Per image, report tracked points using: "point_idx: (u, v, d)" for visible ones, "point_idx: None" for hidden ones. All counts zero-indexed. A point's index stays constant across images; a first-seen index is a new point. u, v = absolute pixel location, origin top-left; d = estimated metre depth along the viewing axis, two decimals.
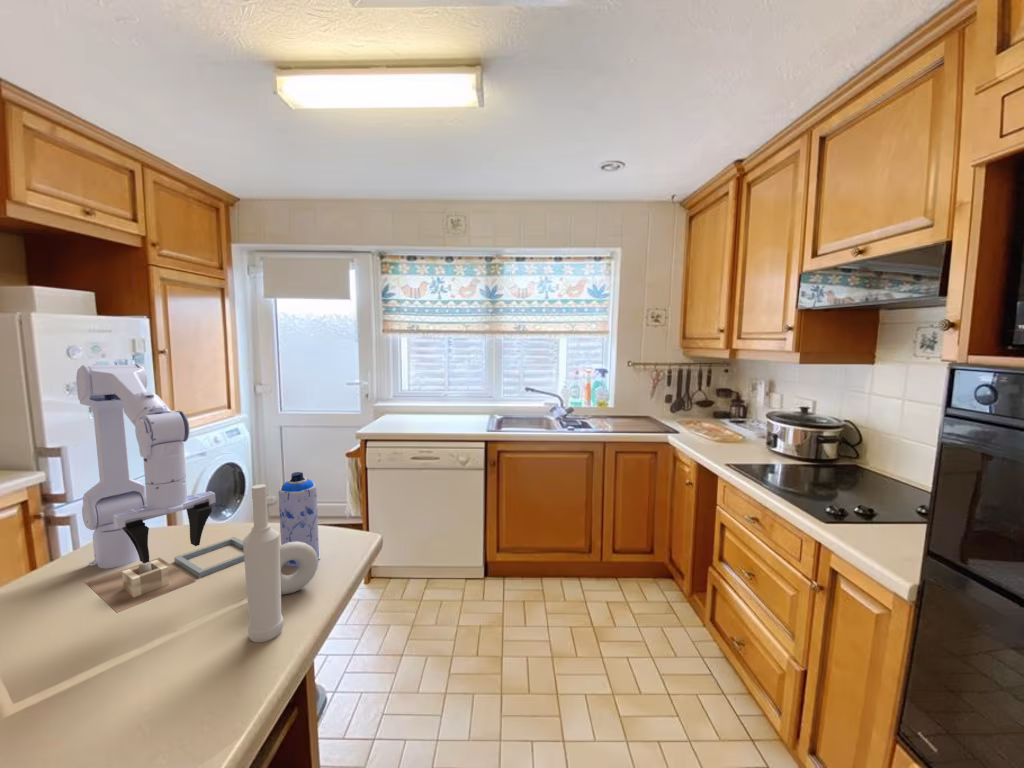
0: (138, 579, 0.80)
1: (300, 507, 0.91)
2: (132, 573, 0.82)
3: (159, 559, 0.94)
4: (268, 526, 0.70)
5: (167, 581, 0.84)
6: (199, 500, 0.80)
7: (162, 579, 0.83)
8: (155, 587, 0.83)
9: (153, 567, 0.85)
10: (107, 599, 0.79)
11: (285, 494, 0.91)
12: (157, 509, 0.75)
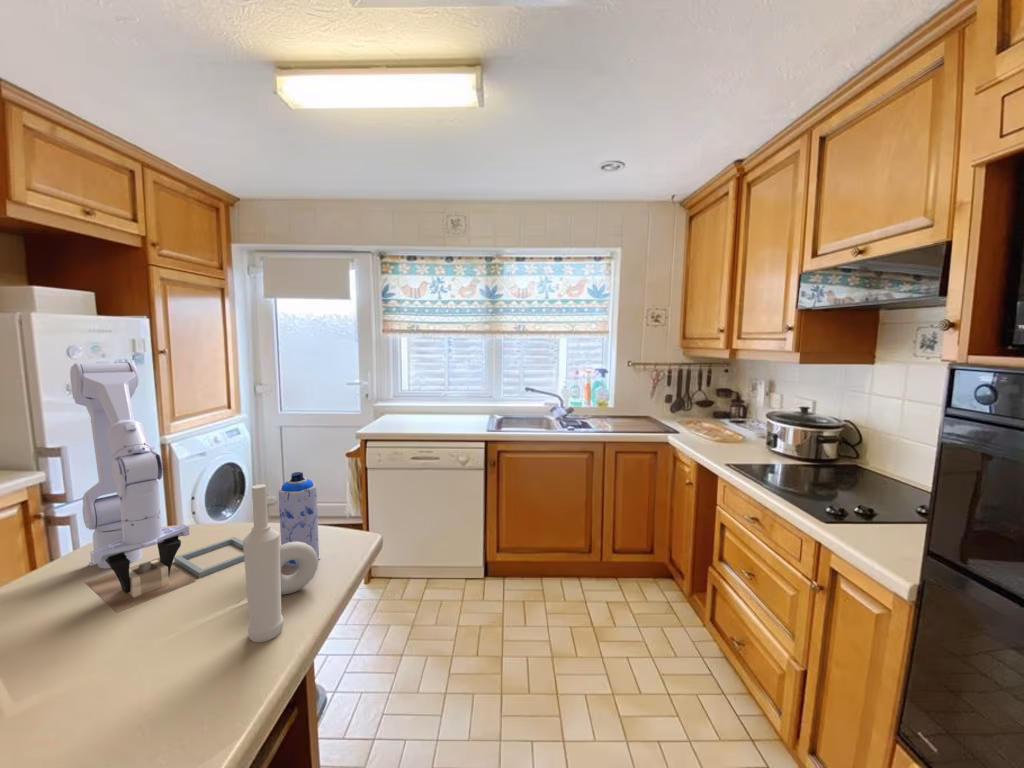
0: (138, 579, 0.80)
1: (300, 507, 0.91)
2: (132, 573, 0.82)
3: (159, 559, 0.94)
4: (268, 526, 0.70)
5: (167, 581, 0.84)
6: (173, 533, 0.86)
7: (162, 579, 0.83)
8: (155, 587, 0.83)
9: (153, 567, 0.85)
10: (107, 599, 0.79)
11: (285, 494, 0.91)
12: (132, 544, 0.80)
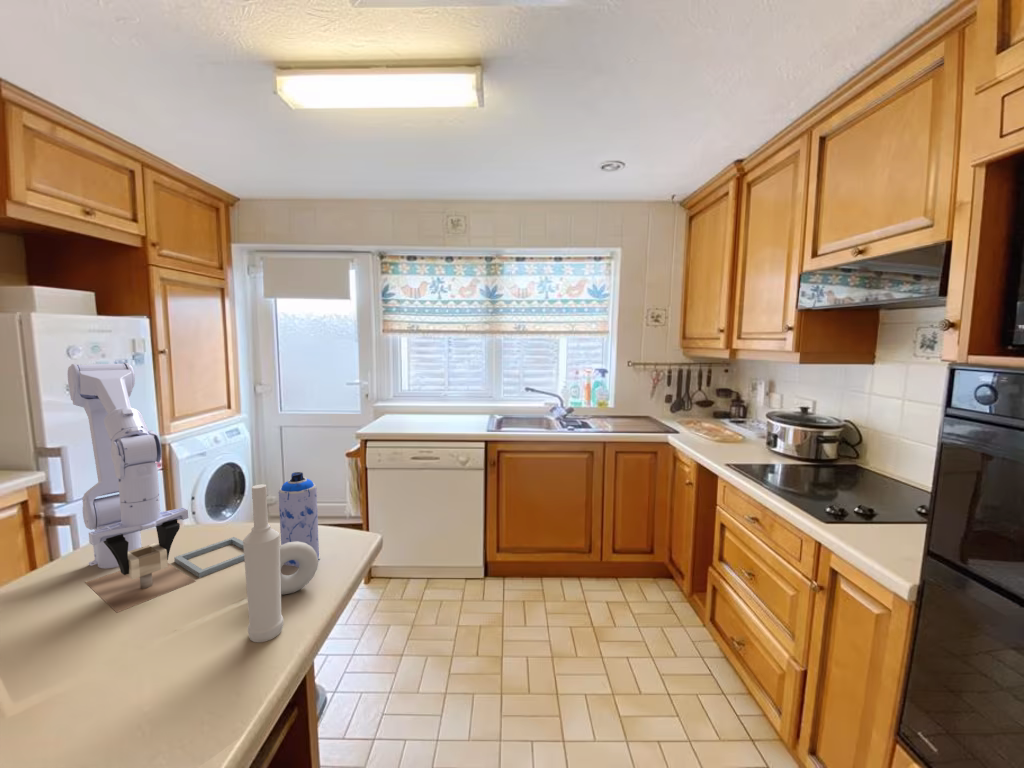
0: (137, 561, 0.80)
1: (300, 507, 0.91)
2: (131, 555, 0.81)
3: None
4: (268, 526, 0.70)
5: (166, 564, 0.84)
6: (172, 516, 0.85)
7: (160, 562, 0.83)
8: (154, 570, 0.82)
9: (152, 550, 0.85)
10: (107, 599, 0.79)
11: (285, 494, 0.91)
12: (131, 526, 0.79)
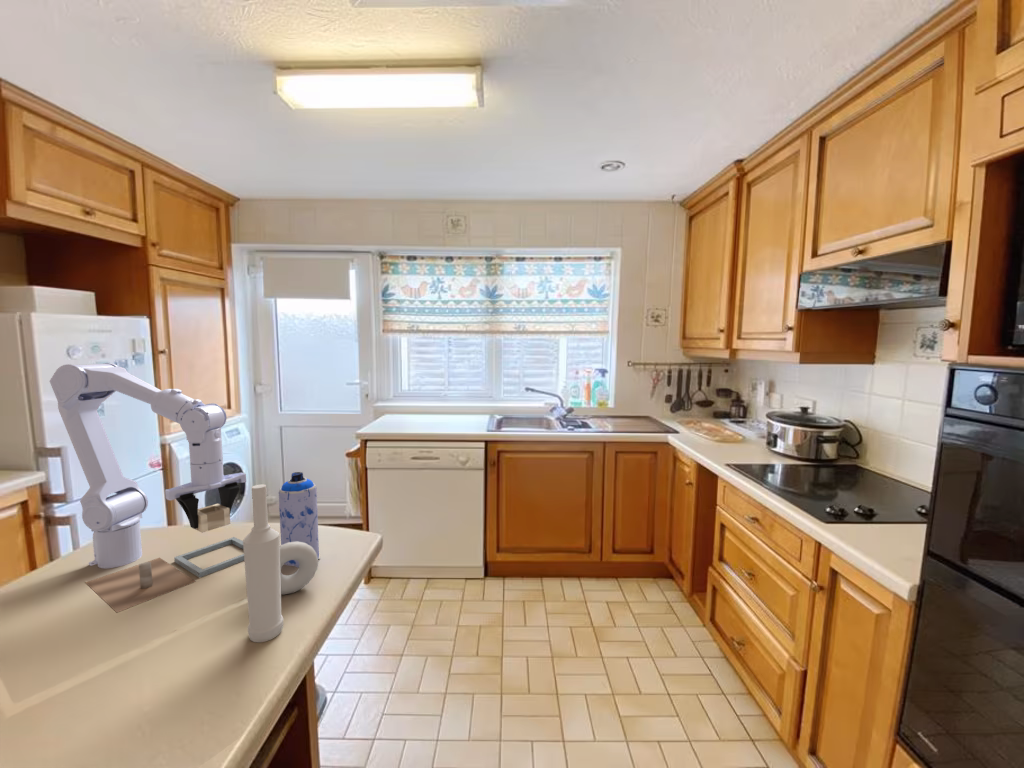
0: (205, 517, 0.90)
1: (300, 507, 0.91)
2: (199, 512, 0.91)
3: (159, 559, 0.94)
4: (268, 526, 0.70)
5: (229, 521, 0.94)
6: (233, 479, 0.95)
7: (224, 519, 0.93)
8: (219, 525, 0.92)
9: (215, 509, 0.95)
10: (107, 599, 0.79)
11: (285, 494, 0.91)
12: (200, 485, 0.89)
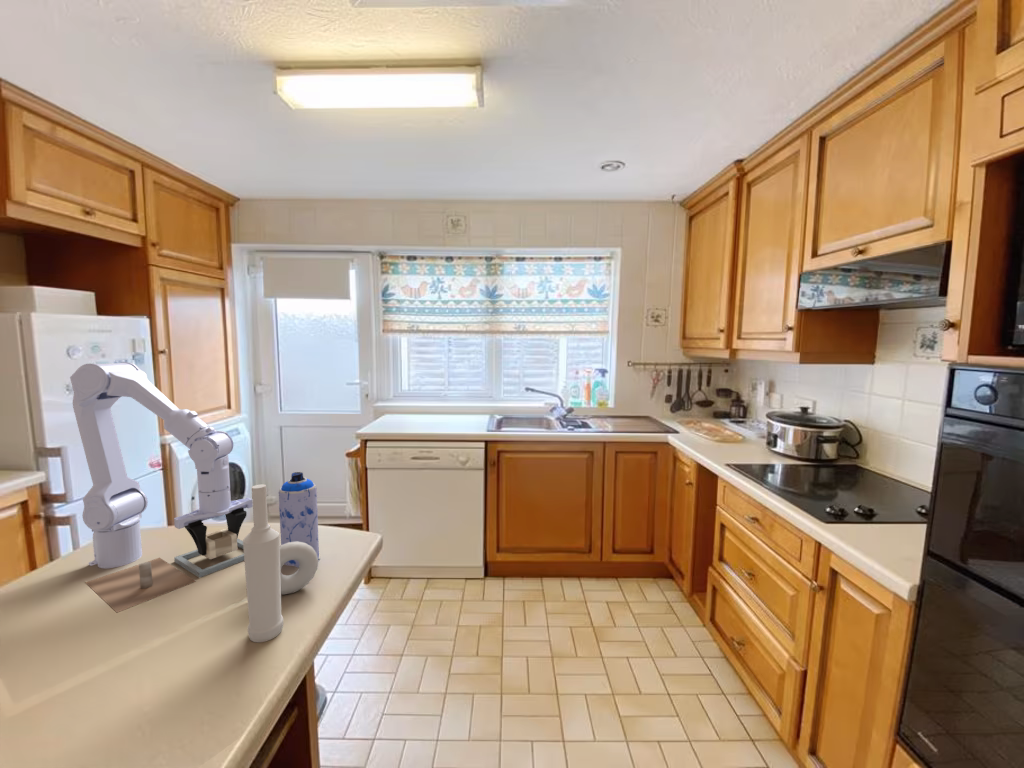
0: (213, 543, 0.92)
1: (300, 507, 0.91)
2: (207, 539, 0.93)
3: (159, 559, 0.94)
4: (268, 526, 0.70)
5: (236, 547, 0.95)
6: (240, 505, 0.97)
7: (232, 544, 0.95)
8: (226, 551, 0.94)
9: (223, 535, 0.97)
10: (107, 599, 0.79)
11: (285, 494, 0.91)
12: (208, 513, 0.91)
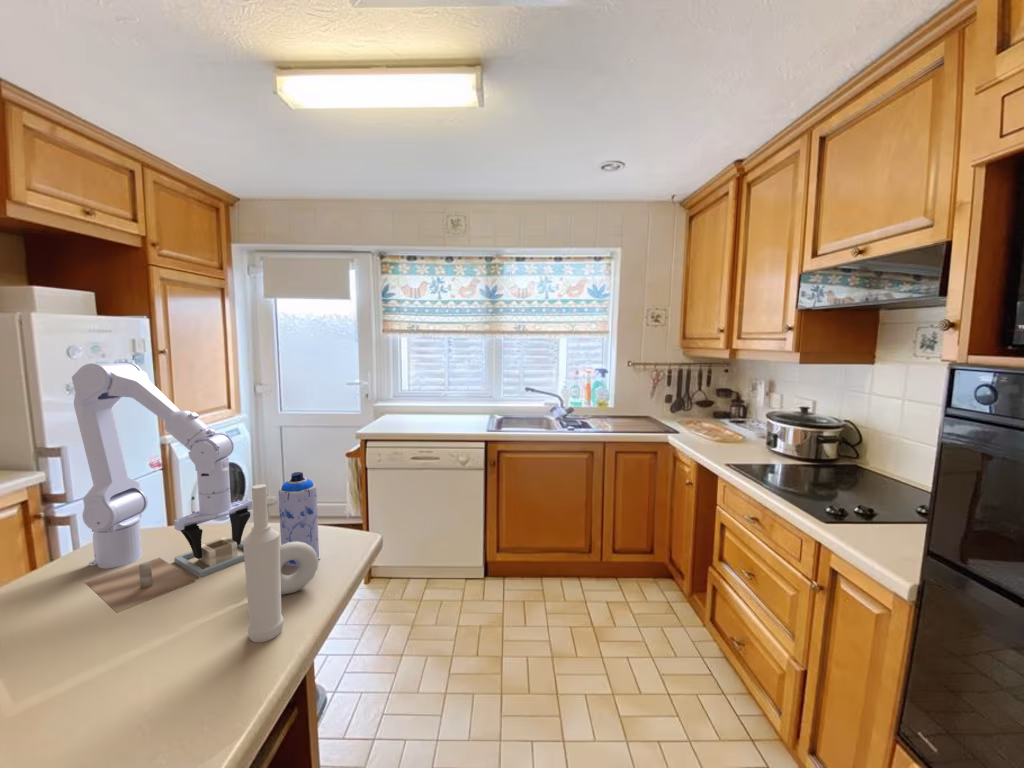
0: (214, 552, 0.92)
1: (300, 507, 0.91)
2: (207, 547, 0.93)
3: (159, 559, 0.94)
4: (268, 526, 0.70)
5: (236, 555, 0.96)
6: (240, 507, 0.97)
7: (232, 553, 0.95)
8: None
9: (223, 543, 0.97)
10: (107, 599, 0.79)
11: (285, 494, 0.91)
12: (208, 515, 0.91)
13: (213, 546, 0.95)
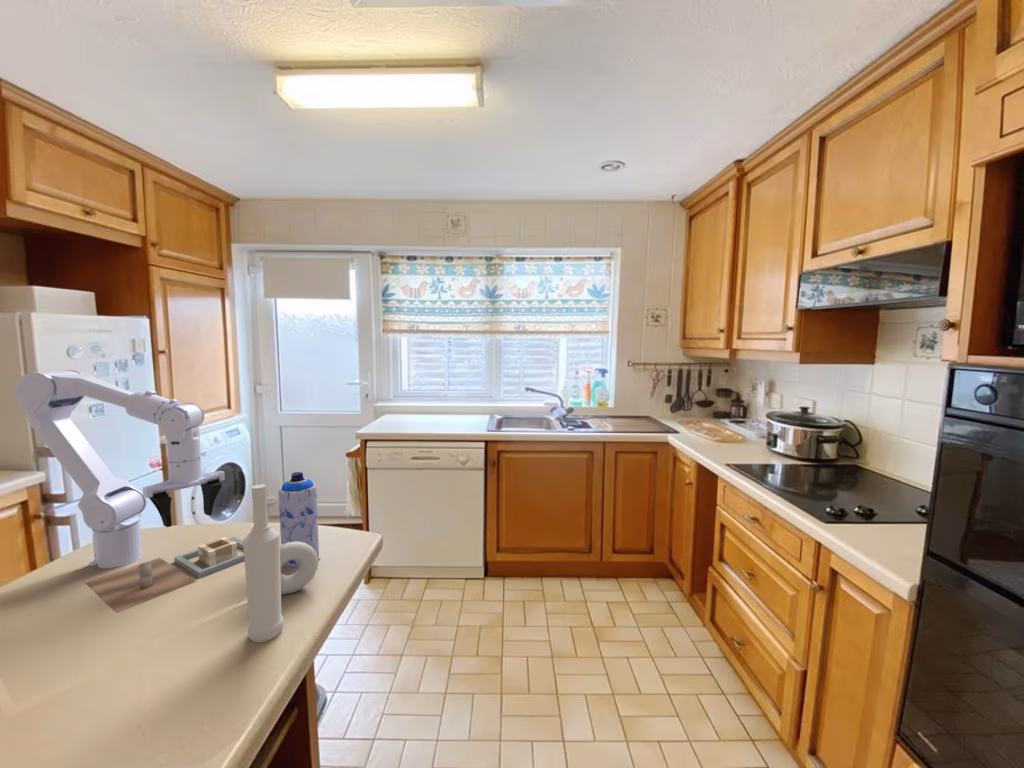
0: (214, 552, 0.92)
1: (300, 507, 0.91)
2: (207, 547, 0.93)
3: (159, 559, 0.94)
4: (268, 526, 0.70)
5: (236, 555, 0.96)
6: (211, 477, 0.97)
7: (232, 553, 0.95)
8: None
9: (223, 543, 0.97)
10: (107, 599, 0.79)
11: (285, 494, 0.91)
12: (178, 483, 0.91)
13: (213, 546, 0.95)
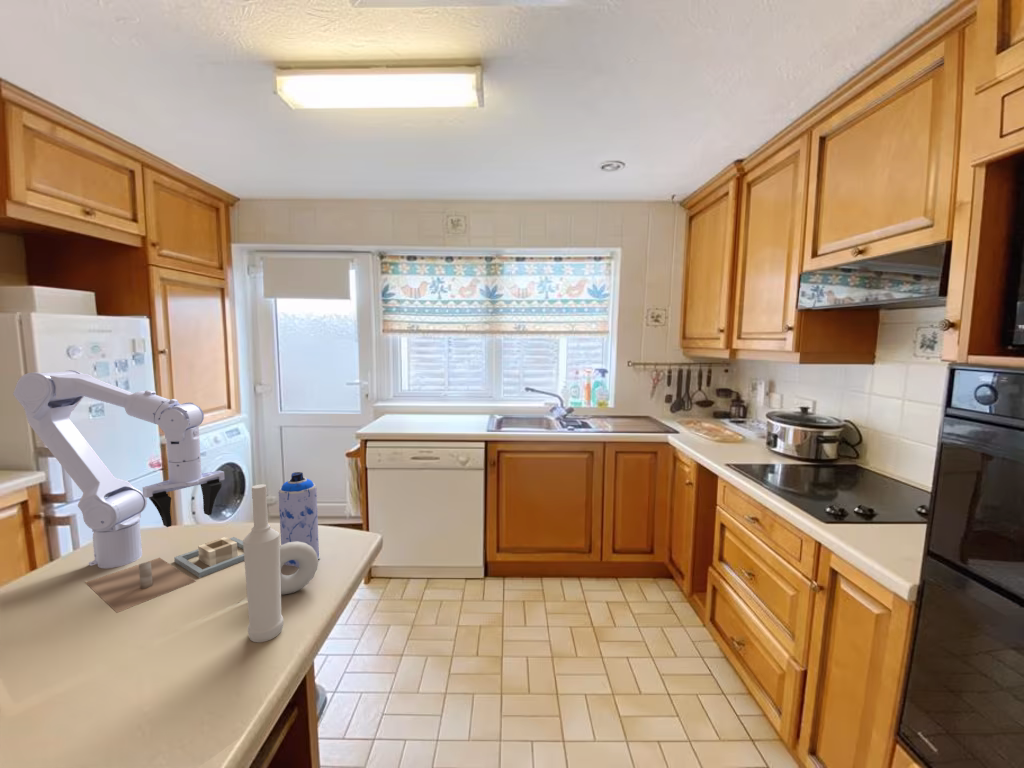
0: (214, 552, 0.92)
1: (300, 507, 0.91)
2: (207, 547, 0.93)
3: (159, 559, 0.94)
4: (268, 526, 0.70)
5: (236, 555, 0.96)
6: (211, 477, 0.97)
7: (232, 553, 0.95)
8: None
9: (223, 543, 0.97)
10: (107, 599, 0.79)
11: (285, 494, 0.91)
12: (178, 483, 0.91)
13: (213, 546, 0.95)
